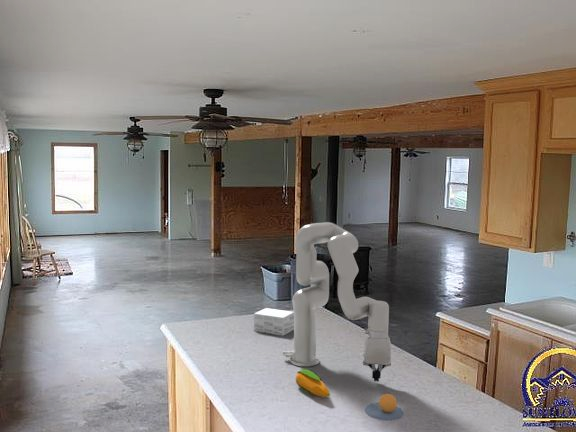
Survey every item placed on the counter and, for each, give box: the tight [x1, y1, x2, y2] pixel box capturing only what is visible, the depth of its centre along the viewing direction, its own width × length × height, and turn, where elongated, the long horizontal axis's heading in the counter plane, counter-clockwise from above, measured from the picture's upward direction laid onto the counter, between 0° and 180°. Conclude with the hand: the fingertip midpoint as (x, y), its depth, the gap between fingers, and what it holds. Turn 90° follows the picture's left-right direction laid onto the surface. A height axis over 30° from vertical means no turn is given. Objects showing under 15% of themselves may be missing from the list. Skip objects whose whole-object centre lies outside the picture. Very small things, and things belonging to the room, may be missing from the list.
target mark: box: [364, 402, 404, 421], centre depth 187 cm, size 13×13×1 cm
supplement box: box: [253, 307, 294, 337], centre depth 277 cm, size 17×13×9 cm
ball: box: [378, 393, 398, 412], centre depth 186 cm, size 6×6×6 cm
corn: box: [295, 369, 331, 398], centre depth 200 cm, size 7×8×20 cm
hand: (376, 379), depth 210 cm, fingers closed
